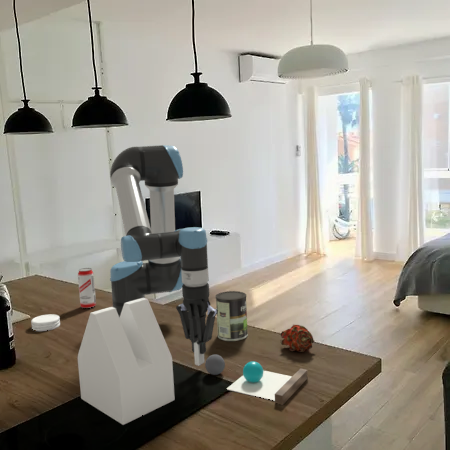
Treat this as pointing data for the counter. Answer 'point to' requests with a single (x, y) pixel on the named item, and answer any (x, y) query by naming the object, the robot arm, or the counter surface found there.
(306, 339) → the dragon fruit
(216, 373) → the gray ball
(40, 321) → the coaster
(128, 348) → the white v-notch block
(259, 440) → the counter surface
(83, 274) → the beer can
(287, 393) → the stopper wall
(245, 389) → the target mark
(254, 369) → the teal ball
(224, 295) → the coffee can
